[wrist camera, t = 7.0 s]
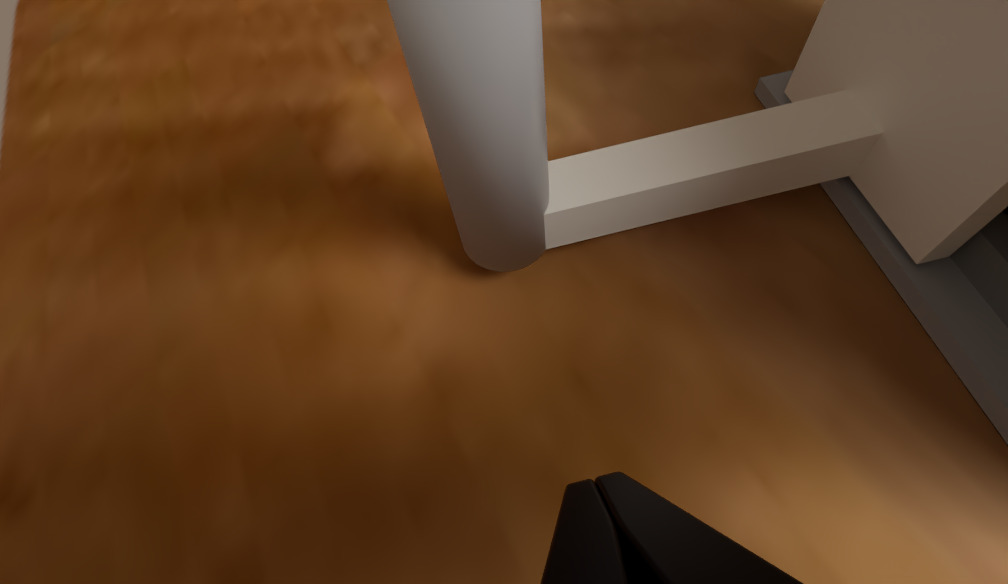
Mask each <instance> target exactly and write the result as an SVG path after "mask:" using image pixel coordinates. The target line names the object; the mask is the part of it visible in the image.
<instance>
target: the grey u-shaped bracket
mask: <svg viewBox="0 0 1008 584" xmlns="http://www.w3.org/2000/svg"><path fill="white" fill-rule="evenodd" d="M387 2H388V5H389V8H390V12H391V15H392V18H393V21H394V24H395V28H396V31H397V34H398V37H399V41H400V44H401V47H402V50H403V54H404V57H405V60H406V63H407V67H408V70H409V73H410V76H411V80H412V83H413V86H414V89H415V93H416V96H417V99H418V102H419V106H420V109H421V112H422V115H423V118H424V122H425V125H426V128H427V131H428V135H429V138H430V141H431V144H432V148H433V151H434V154H435V157H436V161H437V164H438V167H439V170H440V174H441V177H442V180H443V183H444V187H445V190H446V193H447V196H448V199H449V203H450V206H451V209H452V212H453V216H454V219H455V222H456V225H457V229H458V232H459V235H460V238H461V242H462V245H463V248H464V250H465V252H466V254H467V255H468V257H469V258H470V259H471V260H472V261H473V262H474V263H476V264H477V265H479V266H481V267H483V268H485V269H488V270H492V271H499V272H507V271H514V270H518V269H521V268H524V267H526V266H528V265H530V264H532V263H533V262H535V261H536V260H537V259H538V258H539V257H541V256H542V254H543V253H544V252H545V250H546V249H550V248H554V247H558V246H562V245H566V244H570V243H575V242H579V241H583V240H587V239H591V238H595V237H599V236H603V235H607V234H612V233H616V232H620V231H624V230H628V229H632V228H636V227H640V226H644V225H649V224H653V223H657V222H661V221H665V220H669V219H673V218H677V217H681V216H686V215H690V214H694V213H698V212H702V211H706V210H710V209H714V208H719V207H723V206H727V205H731V204H735V203H739V202H743V201H747V200H751V199H756V198H760V197H764V196H768V195H772V194H776V193H780V192H784V191H788V190H793V189H797V188H801V187H805V186H809V185H813V184H817V183H821V182H825V181H830V180H834V179H838V178H842V177H846V176H849V177H850V178H851V180H852V181H853V182H854V184H855V185H856V186H857V188H858V189H859V190H860V191H861V193H862V194H863V195H864V197H865V198H866V199H867V201H868V202H869V203H870V204H871V206H872V207H873V208H874V210H875V211H876V212H877V214H878V215H879V216H880V217H881V219H882V220H883V221H884V223H885V224H886V225H887V227H888V228H889V229H890V230H891V232H892V233H893V234H894V236H895V237H896V238H897V240H898V241H899V242H900V244H901V245H902V246H903V247H904V249H905V250H906V251H907V253H908V254H909V255H910V257H911V258H912V259H913V260H914V262H915V263H916V264H921V263H925V262H929V261H933V260H937V259H941V258H945V257H949V256H950V255H951V254H952V253H954V252H955V251H956V250H957V249H958V248H959V247H961V246H962V245H963V244H964V243H965V242H966V241H968V240H969V239H970V238H971V237H972V236H974V235H975V234H976V233H977V232H978V231H979V230H981V229H982V228H983V227H984V226H985V225H986V224H988V223H989V222H990V221H991V220H992V219H993V218H995V217H996V216H997V215H998V214H999V213H1000V212H1002V211H1003V210H1004V209H1005V208H1006V207H1007V206H1008V0H825V1H824V3H823V5H822V7H821V10H820V12H819V14H818V17H817V19H816V21H815V23H814V26H813V28H812V30H811V32H810V35H809V37H808V39H807V41H806V44H805V46H804V48H803V50H802V53H801V55H800V57H799V59H798V62H797V64H796V66H795V69H794V71H793V73H792V75H791V78H790V80H789V82H788V84H787V87H786V89H785V91H784V92H785V94H786V95H787V96H788V98H789V99H790V100H791V102H792V103H789V104H785V105H781V106H776V107H772V108H768V109H764V110H760V111H756V112H751V113H747V114H743V115H739V116H735V117H731V118H726V119H722V120H718V121H714V122H710V123H706V124H702V125H697V126H693V127H689V128H685V129H681V130H677V131H672V132H668V133H664V134H660V135H656V136H652V137H647V138H643V139H639V140H635V141H631V142H627V143H622V144H618V145H614V146H610V147H606V148H602V149H597V150H593V151H589V152H585V153H581V154H577V155H573V156H568V157H564V158H560V159H556V160H552V161H548V151H547V129H546V107H545V84H544V62H543V40H542V18H541V0H387Z"/></svg>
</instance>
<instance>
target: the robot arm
mask: <svg viewBox="0 0 1008 584" xmlns="http://www.w3.org/2000/svg"><path fill="white" fill-rule="evenodd" d="M541 584H803V583H801V582H800V581H798V580H797V579H795V578H793V577H792V576H790V575H788V574H787V573H785V572H784V571H782V570H780V569H779V568H777V567H775V566H774V565H772V564H771V563H769V562H767V561H766V560H764V559H762V558H761V557H759V556H757V555H756V554H754V553H753V552H751V551H749V550H748V549H746V548H744V547H743V546H741V545H740V544H738V543H736V542H735V541H733V540H731V539H730V538H728V537H727V536H725V535H723V534H722V533H720V532H718V531H717V530H715V529H714V528H712V527H710V526H709V525H707V524H705V523H704V522H702V521H700V520H699V519H697V518H696V517H694V516H692V515H691V514H689V513H687V512H686V511H684V510H683V509H681V508H679V507H678V506H676V505H674V504H673V503H671V502H670V501H668V500H666V499H665V498H663V497H661V496H660V495H658V494H657V493H655V492H653V491H652V490H650V489H648V488H647V487H645V486H643V485H642V484H640V483H639V482H637V481H635V480H634V479H632V478H630V477H629V476H627V475H626V474H624V473H622V472H614V473H610V474H607V475H603V476H599V477H597V478H596V479H595V482H594V481H593V480H591V479H587V480H583V481H579V482H575V483H571V484H568V485H567V486H566V489H565V492H564V496H563V500H562V504H561V508H560V512H559V515H558V519H557V523H556V527H555V531H554V534H553V538H552V542H551V546H550V550H549V554H548V557H547V561H546V565H545V569H544V573H543V576H542V580H541Z"/></svg>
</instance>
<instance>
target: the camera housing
mask: <svg viewBox="0 0 1008 584" xmlns="http://www.w3.org/2000/svg"><path fill="white" fill-rule="evenodd" d="M793 71H794V70H790V71H786V72H781V73H777V74H773V75H769V76H765V77H760V78H759V81H758V83H757V86H756V89H755V91H754V93H755V94H756V96H757V97H758V99H759V100H760V101H761V103H762V104H763V106H764V107H765V108H766V109H768V108H772V107H776V106H781V105H785V104H789V103H792V102H791V100H790V99H789V98H788V96H787V95H786V94H785V92H784V91H785V89H786V87H787V84H788V82H789V80H790V78H791V75H792V73H793ZM820 185H821V186H822V187H823V189H824V190H825V192H826V193H827V194H828V196H829V197H830V199H831V200H832V201H833V203H834V204H835V206H836V207H837V208H838V210H839V211H840V212H841V214H842V215H843V217H844V218H845V219H846V221H847V222H848V224H849V225H850V226H851V228H852V229H853V230H854V232H855V233H856V235H857V236H858V237H859V239H860V240H861V242H862V243H863V244H864V246H865V247H866V249H867V250H868V251H869V253H870V254H871V255H872V257H873V258H874V260H875V261H876V262H877V264H878V265H879V267H880V268H881V269H882V271H883V272H884V274H885V275H886V276H887V278H888V279H889V280H890V282H891V283H892V285H893V286H894V287H895V289H896V290H897V292H898V293H899V294H900V296H901V297H902V299H903V300H904V301H905V303H906V304H907V305H908V307H909V308H910V310H911V311H912V312H913V314H914V315H915V317H916V318H917V319H918V321H919V322H920V323H921V325H922V326H923V328H924V329H925V330H926V332H927V333H928V335H929V336H930V337H931V339H932V340H933V342H934V343H935V344H936V346H937V347H938V348H939V350H940V351H941V353H942V354H943V355H944V357H945V358H946V360H947V361H948V362H949V364H950V365H951V367H952V368H953V369H954V371H955V372H956V373H957V375H958V376H959V378H960V379H961V380H962V382H963V383H964V385H965V386H966V387H967V389H968V390H969V391H970V393H971V394H972V396H973V397H974V398H975V400H976V401H977V403H978V404H979V405H980V407H981V408H982V410H983V411H984V412H985V414H986V415H987V416H988V418H989V419H990V421H991V422H992V423H993V425H994V426H995V428H996V429H997V430H998V432H999V433H1000V435H1001V436H1002V437H1003V439H1004V440H1005V441H1006V443H1007V444H1008V216H1007V215H1006V214H1005V213H1004V212H1003V211H1002V212H1000V213H999V214H998V215H997V216H996V217H995V218H993V219H992V220H991V221H990V222H989V223H988V224H986V225H985V226H984V227H983V228H982V229H981V230H979V231H978V232H977V233H976V234H975V235H974V236H972V237H971V238H970V239H969V240H968V241H966V242H965V243H964V244H963V245H962V246H961V247H959V248H958V249H957V250H956V251H955V252H954V253H952V254H951V255H950V256H949V257H945V258H941V259H937V260H933V261H929V262H925V263H921V264H916V263H915V262H914V260H913V259H912V258H911V257H910V255H909V254H908V253H907V251H906V250H905V249H904V247H903V246H902V245H901V244H900V242H899V241H898V240H897V238H896V237H895V236H894V234H893V233H892V232H891V230H890V229H889V228H888V227H887V225H886V224H885V223H884V221H883V220H882V219H881V217H880V216H879V215H878V214H877V212H876V211H875V210H874V208H873V207H872V206H871V204H870V203H869V202H868V201H867V199H866V198H865V197H864V195H863V194H862V193H861V191H860V190H859V189H858V188H857V186H856V185H855V184H854V182H853V181H852V180H851V178H850V177H849V176H846V177H842V178H838V179H834V180H830V181H825V182H821V183H820Z"/></svg>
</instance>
